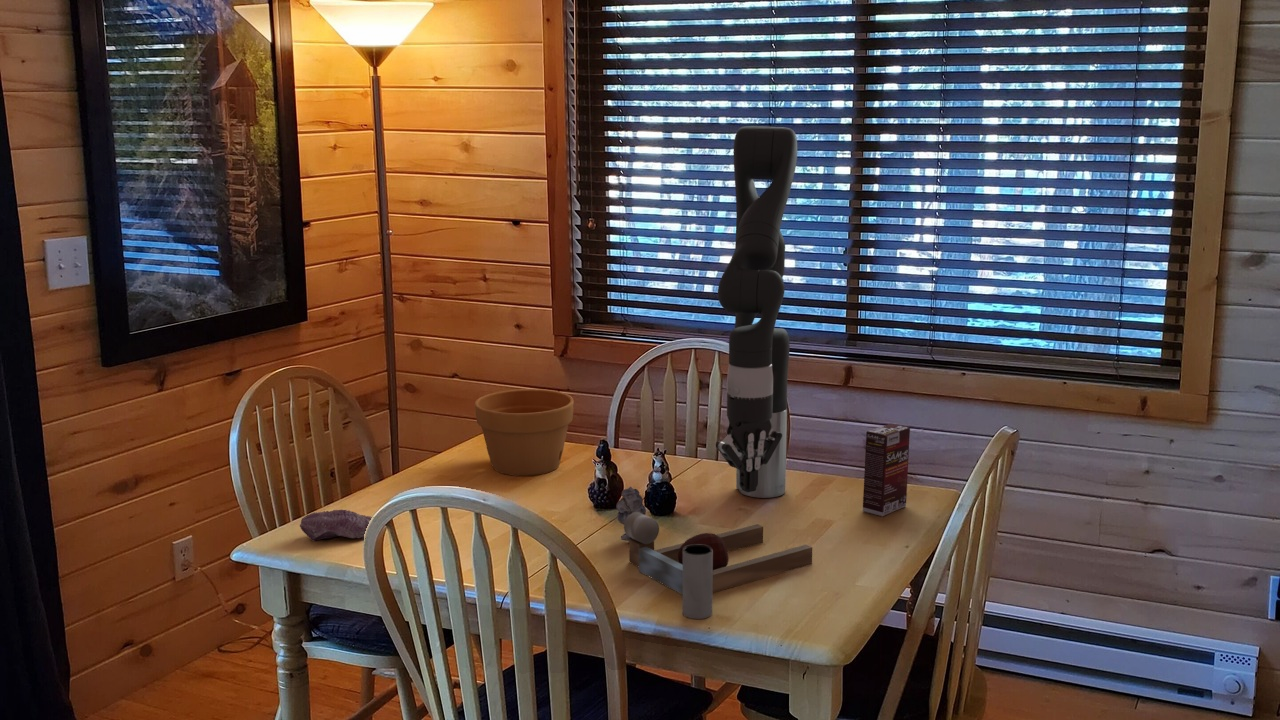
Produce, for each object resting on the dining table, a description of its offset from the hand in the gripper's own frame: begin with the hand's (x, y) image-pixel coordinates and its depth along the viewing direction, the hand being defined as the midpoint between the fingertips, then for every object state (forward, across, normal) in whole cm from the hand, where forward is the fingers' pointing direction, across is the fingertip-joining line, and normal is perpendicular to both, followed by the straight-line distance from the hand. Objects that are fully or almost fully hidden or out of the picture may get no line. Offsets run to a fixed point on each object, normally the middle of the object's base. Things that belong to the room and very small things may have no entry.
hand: (748, 490), depth 199 cm
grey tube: (+12, +20, +13) cm, 27 cm away
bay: (+12, +5, -2) cm, 14 cm away
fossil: (+13, +52, -52) cm, 75 cm away
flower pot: (+14, +4, -70) cm, 72 cm away
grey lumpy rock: (+13, +10, -20) cm, 26 cm away
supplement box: (+13, -39, -6) cm, 41 cm away
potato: (+13, +10, 0) cm, 16 cm away
